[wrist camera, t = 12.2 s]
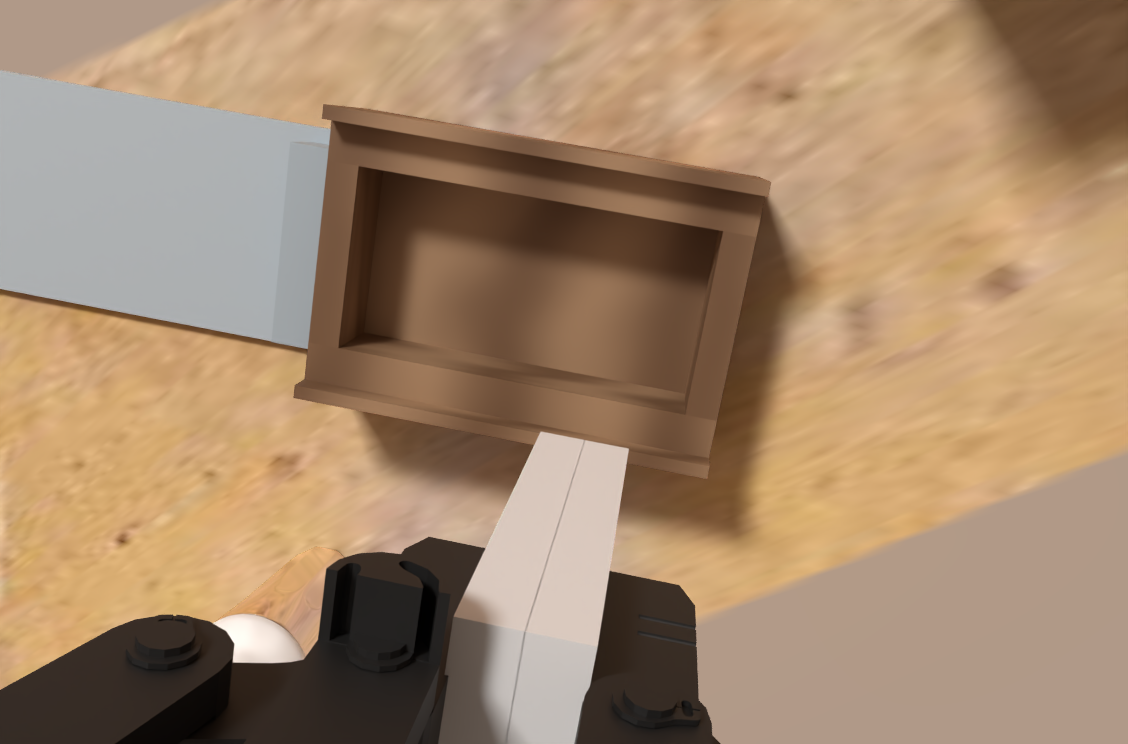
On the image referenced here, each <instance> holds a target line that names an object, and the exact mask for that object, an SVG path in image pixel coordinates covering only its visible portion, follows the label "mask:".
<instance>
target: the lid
mask: <svg viewBox="0 0 1128 744" xmlns="http://www.w3.org/2000/svg"><path fill="white" fill-rule="evenodd" d="M330 131H331V129H328V128H322V127H317V126H311V125H305V124H300V123H294V122H289V121H283V120H277V119H272V118H266V117H260V116H255V115H249V114H243V113H238V112H232V111H226V110H221V109H215V108H209V107H204V106H198V105H192V104H187V103H181V102H176V101H170V100H164V99H159V98H153V97H147V96H142V95H136V94H130V93H125V92H119V91H113V90H108V89H102V88H96V87H91V86H85V85H79V84H74V83H68V82H63V81H57V80H51V79H49V78H43V77H37V76H32V75H26V74H21V73H15V72H9V71H3V70H0V289H4V290H9V291H14V292H19V293H24V294H30V295H35V296H40V297H45V298H50V299H55V300H61V301H66V302H71V303H76V304H81V305H86V306H92V307H97V308H102V309H107V310H112V311H118V312H123V313H128V314H133V315H138V316H143V317H149V318H154V319H159V320H164V321H169V322H174V323H180V324H185V325H190V326H195V327H200V328H205V329H211V330H216V331H221V332H226V333H231V334H237V335H242V336H247V337H252V338H257V339H262V340H268V341H271V342H274V343H279V344H284V345H290V346H295V347H300V348H305V349H308V341H309V332H310V322H311V312H312V303H313V293H314V284H315V274H316V265H317V255H318V245H319V236H320V226H321V217H322V207H323V198H324V188H325V178H326V169H327V159H328V150H329V140H330Z"/></svg>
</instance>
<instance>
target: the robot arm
mask: <svg viewBox="0 0 1128 744" xmlns="http://www.w3.org/2000/svg"><path fill="white" fill-rule="evenodd" d="M628 451H629V449H628V448H623V447H618V446H613V445H607V444H602V443H597V442H592V441H587V440H582V439H577V438H572V437H567V436H561V435H556V434H551V433H546V432H540V434H539V436H538V438H537V441H536V443H535V445H534V447H533V449H532V451H531V453H530V455H529V457H528V460H527V462H526V464H525V466H524V468H523V470H522V472H521V474H520V477H519V479H518V481H517V483H516V485H515V487H514V489H513V491H512V494H511V496H510V498H509V500H508V502H507V504H506V506H505V508H504V510H503V513H502V515H501V517H500V519H499V521H498V523H497V525H496V527H495V530H494V532H493V534H492V536H491V538H490V540H489V542H488V544H487V547H486V548H481V547H476V546H471V545H466V544H461V543H457V542H452V541H447V540H442V539H437V538H432V537H428V538H426V539H424V540H422V541H420V542H418V543H416V544H414V545H412V546H410V547H408V548H406V549H404V551H403V552H402V554H393V553H385V552H376V553H360V554H355V555H352V556H349V557H345V558H342V559H339V560H337V561H336V562H334V563H333V564H332V565H330V566H329V567H327V568H326V574H325V583H324V592H323V600H322V609H321V617H320V626H319V635H318V640H317V642H316V643H315V644H314V646H313V647H312V649H311V650H310V651H309V653H308V654H307V655H306V657H305V658H304V660H299V661H294V662H283V663H235V662H233V655H234V642H233V641H232V639H231V638H230V636H229V634H228V633H227V631H225V630H223V629H222V628H220V627H218V626H216V625H215V624H213V623H211V622H209V621H205V620H201V619H196V618H192V617H189V616H183V615H176V616H173V615H158V616H155V617H149V618H143V619H136V620H133V621H130V622H128V623H125V624H123V625H120V626H117V627H115V628H112V629H110V630H109V631H107V632H105V633H103V634H101V635H100V636H98V637H96V638H94V639H92V640H90V641H89V642H87V643H85V644H83V645H81V646H79V647H78V648H76V649H74V650H72V651H70V652H69V653H67V654H65V655H63V656H61V657H59V658H58V659H56V660H54V661H52V662H50V663H49V664H47V665H45V666H43V667H41V668H39V669H38V670H36V671H34V672H32V673H30V674H28V675H27V676H25V677H23V678H21V679H19V680H18V681H16V682H14V683H12V684H10V685H8V686H7V687H5V688H3V689H1V690H0V744H720V743H719V742H718V741H717V740H716V739H715V738H714V737H713V736H712V723H711V720H710V717H709V715H708V712H707V709H706V707H704V706H703V704H702V703H700V701H699V699H698V673H697V647H696V630H695V627H696V619H695V605H694V604H693V603H692V601H691V600H690V599H689V597H688V596H687V595H686V593H685V592H684V591H683V589H682V588H681V587H680V586H679V585H675V584H670V583H666V582H661V581H656V580H651V579H646V578H641V577H636V576H631V575H627V574H622V573H617V572H612V571H610V565H611V559H612V552H613V546H614V540H615V533H616V527H617V521H618V515H619V508H620V502H621V496H622V489H623V483H624V477H625V470H626V464H627V458H628Z"/></svg>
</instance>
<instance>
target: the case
mask: <svg viewBox="0 0 1128 744" xmlns="http://www.w3.org/2000/svg"><path fill="white" fill-rule="evenodd" d="M322 119H327V120H332V121H331V131H330V140H329V150H328V159H327V169H326V178H325V188H324V198H323V207H322V217H321V226H320V236H319V245H318V255H317V265H316V274H315V284H314V293H313V303H312V312H311V322H310V332H309V341H308V351H307V360H306V370H305V379H304V380H303V381H301V382H299V383H298V384H296V385H295V389H294V398H297V399H302V400H307V401H312V402H317V403H322V404H327V405H332V406H338V407H343V408H348V409H353V410H358V411H363V412H368V413H373V414H378V415H383V416H388V417H393V418H399V419H404V420H409V421H414V422H419V423H424V424H429V425H434V426H439V427H444V428H449V429H454V430H460V431H465V432H470V433H475V434H480V435H485V436H490V437H495V438H500V439H505V440H510V441H515V442H521V443H526V444H531V445H535V443H536V441H537V438H538V436H539V434H540V432H546V433H551V434H556V435H561V436H567V437H572V438H577V439H582V440H587V441H592V442H597V443H602V444H607V445H613V446H618V447H623V448H628V449H629V451H628V458H627V464H632V465H638V466H643V467H648V468H653V469H658V470H663V471H668V472H673V473H678V474H683V475H688V476H693V477H699V478H704V479H707V477H708V472H709V468H710V464H709V455H710V451H711V446H712V441H713V437H714V432H715V428H716V423H717V418H718V414H719V409H720V404H721V400H722V395H723V390H724V386H725V381H726V376H727V372H728V367H729V363H730V358H731V353H732V349H733V344H734V339H735V335H736V330H737V325H738V321H739V316H740V312H741V307H742V302H743V298H744V293H745V288H746V284H747V279H748V274H749V270H750V265H751V261H752V256H753V251H754V247H755V242H756V237H757V233H758V228H759V223H760V219H761V214H762V209H763V205H764V200H765V196H766V197H768V195H769V190H770V186H771V182H769V181H767V180H765V179H763V178H760V177H756V176H750V175H744V174H738V173H733V172H727V171H721V170H715V169H710V168H704V167H698V166H692V165H687V164H681V163H675V162H669V161H664V160H658V159H652V158H647V157H641V156H635V155H629V154H624V153H618V152H612V151H606V150H601V149H595V148H589V147H583V146H578V145H572V144H566V143H560V142H555V141H549V140H543V139H537V138H532V137H526V136H520V135H514V134H509V133H503V132H497V131H491V130H486V129H480V128H474V127H468V126H463V125H457V124H451V123H445V122H440V121H434V120H428V119H423V118H417V117H411V116H405V115H400V114H394V113H388V112H382V111H377V110H371V109H364V108H354V107H345V106H335V105H326V104H324V105H323V114H322Z"/></svg>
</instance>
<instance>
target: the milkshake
mask: <svg viewBox="0 0 1128 744" xmlns="http://www.w3.org/2000/svg"><path fill="white" fill-rule="evenodd" d="M342 558H344V557H343V556H342V555H341V554H340V553H339V552H338V551H336V550H331V549H326V548H321V547H314V548H311V549H309V550H307V551H305V552H303V553H300V554H298V555H296V556H295V557H294V558H293V559H291V560H290V561H289V562H288V563H287V564H285V565H284V566H283V567H282V568H281V569H279V570H278V571H277V572H276V573H275V574H273V575H272V576H271V577H270V578H269V579H268V580H266V581H265V582H264V583H263V584H262V585H260V586H259V587H258V588H257V589H256V590H254V591H253V592H252V593H251V594H250V595H249V596H247V597H246V598H245V599H244V600H243V601H241V602H240V603H239V604H237V605H236V606H235V607H233V608H232V609H231V610H229V611H228V612H227V613H226V614H224V615H223V616H222V617H220V618H219V619H218V620H216V621H215V622H214V623H213V624H215V625H216V626H218V627H220V628H222V629H223V630H225V631H227V633H228V634H229V636H230V638H231V639H232V641H233V642H234V655H233V662H235V663H283V662H294V661H299V660H304V658H305V657H306V655H307V654H308V653H309V651H310V650H311V649H312V647H313V646H314V644H315V643H316V642H317V640H318V635H319V626H320V617H321V609H322V600H323V592H324V583H325V574H326V568H327V567H329V566H330V565H332V564H333V563H334V562H336V561H337V560H339V559H342Z"/></svg>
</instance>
